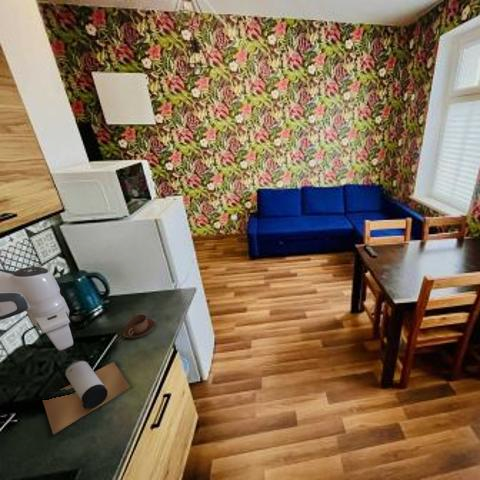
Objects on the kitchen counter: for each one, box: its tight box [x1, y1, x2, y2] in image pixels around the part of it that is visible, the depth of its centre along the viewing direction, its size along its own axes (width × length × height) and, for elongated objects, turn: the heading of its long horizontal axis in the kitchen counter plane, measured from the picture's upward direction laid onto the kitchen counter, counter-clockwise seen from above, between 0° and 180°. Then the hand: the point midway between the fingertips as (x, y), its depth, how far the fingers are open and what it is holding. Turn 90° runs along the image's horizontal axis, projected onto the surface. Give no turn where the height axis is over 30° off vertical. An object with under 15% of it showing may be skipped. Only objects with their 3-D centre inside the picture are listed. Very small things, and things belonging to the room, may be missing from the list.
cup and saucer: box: [122, 314, 155, 339], centre depth 117 cm, size 12×12×6 cm
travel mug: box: [64, 360, 108, 409], centre depth 90 cm, size 6×7×20 cm
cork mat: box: [42, 361, 131, 435], centre depth 91 cm, size 20×17×1 cm
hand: (65, 345), depth 92 cm, fingers closed
